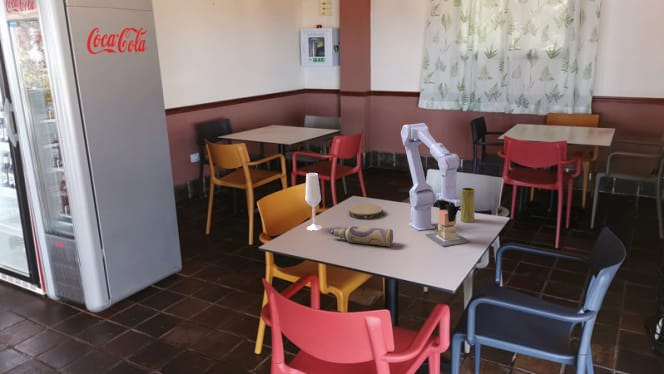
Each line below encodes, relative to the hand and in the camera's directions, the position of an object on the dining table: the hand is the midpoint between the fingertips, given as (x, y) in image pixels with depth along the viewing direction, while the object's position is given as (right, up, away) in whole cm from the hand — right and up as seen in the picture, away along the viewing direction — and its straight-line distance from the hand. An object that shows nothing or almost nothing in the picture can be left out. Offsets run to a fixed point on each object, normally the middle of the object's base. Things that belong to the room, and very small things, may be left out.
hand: (447, 219), depth 199 cm
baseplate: (0, -8, +2) cm, 8 cm away
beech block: (0, -7, +2) cm, 7 cm away
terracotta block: (0, -2, 0) cm, 2 cm away
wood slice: (-30, -1, +38) cm, 48 cm away
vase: (+14, -2, +24) cm, 28 cm away
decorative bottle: (-33, -9, +3) cm, 34 cm away
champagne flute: (-53, -5, +21) cm, 57 cm away
